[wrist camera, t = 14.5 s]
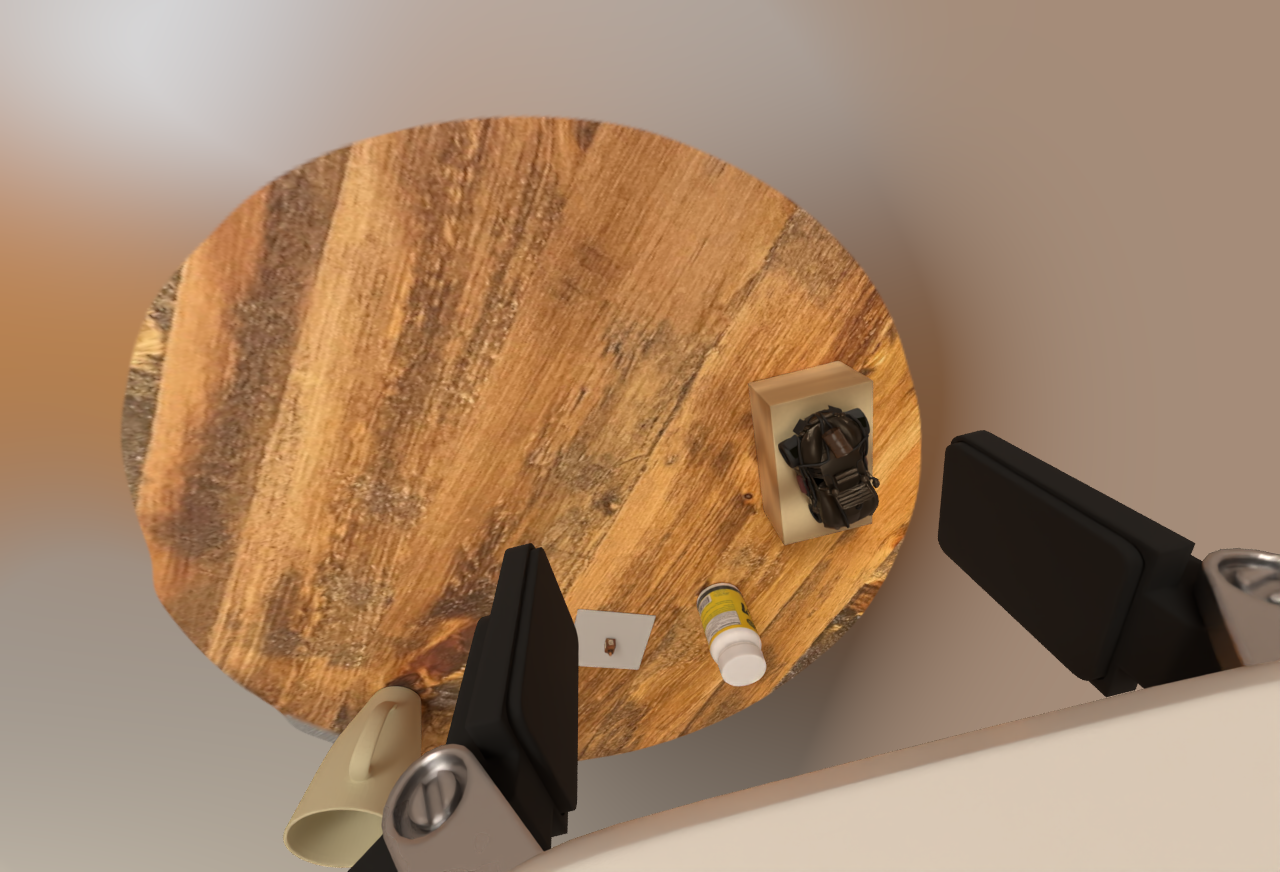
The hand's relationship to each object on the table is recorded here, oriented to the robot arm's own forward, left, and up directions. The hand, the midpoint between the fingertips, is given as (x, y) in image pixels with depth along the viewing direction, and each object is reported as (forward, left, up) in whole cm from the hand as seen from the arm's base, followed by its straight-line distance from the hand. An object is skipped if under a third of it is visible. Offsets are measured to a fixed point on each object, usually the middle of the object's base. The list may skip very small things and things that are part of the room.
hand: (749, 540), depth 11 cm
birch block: (+14, +12, -26) cm, 32 cm away
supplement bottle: (+30, +2, -26) cm, 40 cm away
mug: (+32, -33, -26) cm, 53 cm away
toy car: (+14, +12, -22) cm, 28 cm away
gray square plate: (+32, -10, -26) cm, 43 cm away
